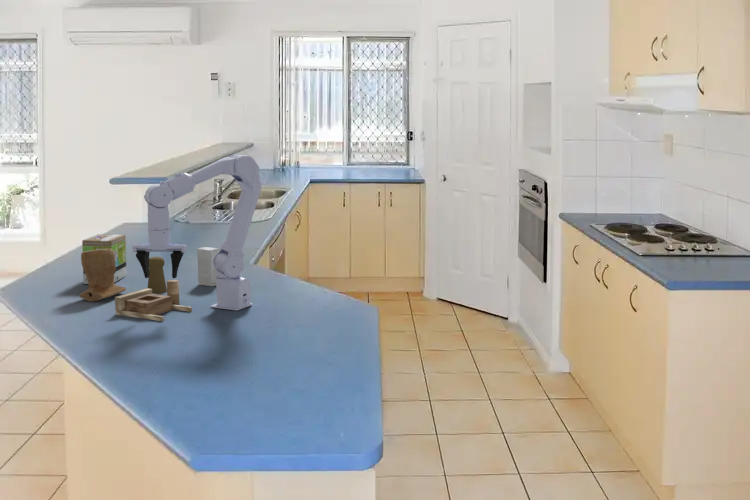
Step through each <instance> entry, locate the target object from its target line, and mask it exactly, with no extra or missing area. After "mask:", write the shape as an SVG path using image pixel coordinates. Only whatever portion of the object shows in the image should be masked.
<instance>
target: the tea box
mask: <svg viewBox="0 0 750 500" xmlns="http://www.w3.org/2000/svg"><path fill="white" fill-rule="evenodd" d="M81 244H82V252H85V251H91V250H99V249H109V248H111V249H112V250H113V252H114V255H115V262H116V268H115V273H114V283H117V282H118V281H119V280H121V279H123V278H126V276H127V272H128V271H127V240H126V234H111V233H109V234H96V235H92V236H90V237H88V238H86V239H83V240H82V243H81ZM82 270H83V271H82V274H83V275H82V277H83V285H89V283H88V280H87V277H86V274H85V272H84V269H83V268H82Z"/></svg>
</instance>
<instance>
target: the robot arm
mask: <svg viewBox="0 0 750 500" xmlns="http://www.w3.org/2000/svg"><path fill="white" fill-rule="evenodd" d="M259 171H260V166H259V165H258V164H257V162H256V160H255V159H254V158H253V157H252V156H250V155H241V154H237V153H234V154H231V155H229V156H226V157H225V156H224V157H222V158H220V159H217V160H216V161H214V162H211V163H210V164H208V165H206V166H205V167H202V168H200V169H198V170H196V171H194V172H192V173H191V174H189V173H187V172H182V173H181V172H179V171H178V172H176V173H174V175H175V176H173V177H171V178H169V179H167V180H165V181H164V180H160V181H159V185H158V184H153V185H151V186H149V187H148V188H147V189H146V191H145V193H144V196H143V198H144V200H145V201H146V203H147V231H148V234H147V235H148V243H134V244H132V252H133V253H136V254H135V258H136V259H137V261H138V262H139V264H140V266H141V269H142V272H143V275H144V278H145V279H148V278H149V275H150V272H149V258H150V253H152V252H153V253H155V252H157V253H170V259H171V268H172V269H171V277H172V279H176V278H177V277H178V271H179V267H180V264H181V260H182V258H183V256H184V253H186V252H187V251H188V250H187V244H181V243H180V244H179V243H171V235H170V234H171V232H170V226H171V225H170V211H169V205H170V203H171V201H175V200H177V199H179V198H181V197H183V196H186V195H187V194H191V193H192V192H194V189H195V187H196V185H198V184H201V183H203V182H207V181H208V180H211V179H212V178H215V177H218V176H220V175H227V176H228V175H229V176H231V177H232V178H233V179H235V180H236V182H237V184H238V185H239V187H240V189H241V191H240V195H239V198H238V202H237V204H236V207H235V210H234V214H233V216H232V220H231V222H230V226H229V229H228V232H227V236H226V239H225V241H224V242H223V243H222V244H221V246H220V248H219V252H218V253H217V254H216V256H215V257H214V260H213V265H214V267H215V269H216V270H217V274H216V285H215V288H216V291H215V292H216V303H214V304H211V305H210V308H214V309H221V310H222V309H223V310H231V311H240V310H242V309H246V308H249V307H251V306H253V303H252V298H251V297H252V296H251V295H252V293H251V290H252V289H251V282H250V280H249V279H248V278H246V277H243V276H242V273H243V271H244V269H245V264H244V258H245V251H244V249H245V248H244V245H245V242H246V239H247V236H248V232H249V229H250V226H251V223H252V220H253V217H254V213H255V212H256V207H257V204H258V201H259V197H260V195H261V192H262V191H261V190H262V185H261V184H262V183H261V178H260V173H259Z"/></svg>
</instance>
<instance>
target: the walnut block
mask: <svg viewBox="0 0 750 500" xmlns="http://www.w3.org/2000/svg"><path fill="white" fill-rule="evenodd" d="M125 308H126V311H130V312H137V313H144V314H151V315H158V316H159V315H162V314H164V313H166V312H170V311H172V310H173V309H172V296H167V294H166V295H164V294H150V293H149V294H146V295H142V296H139V297H135V298H132V299H128V300H125Z"/></svg>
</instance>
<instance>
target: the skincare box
mask: <svg viewBox="0 0 750 500" xmlns="http://www.w3.org/2000/svg"><path fill="white" fill-rule="evenodd" d="M196 251H197V253H196V254H197V276H198V277H197V278H198V281H197V282H198V285H199V286H205V287H214V286H215V287H216V274H217V270H216V269H215V267H214V265H213V260H214V257H215V256H216V254H217V253H218V252H219V251H220V248H215V247H207V246H206V247H205V246H204V247H200V248H199V247H198V248H197V250H196Z"/></svg>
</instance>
